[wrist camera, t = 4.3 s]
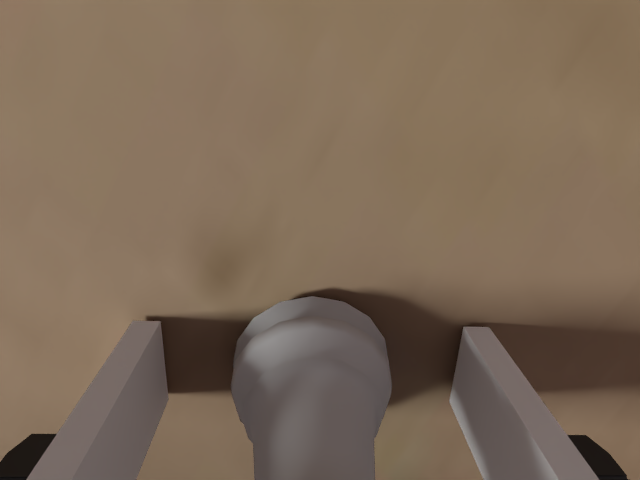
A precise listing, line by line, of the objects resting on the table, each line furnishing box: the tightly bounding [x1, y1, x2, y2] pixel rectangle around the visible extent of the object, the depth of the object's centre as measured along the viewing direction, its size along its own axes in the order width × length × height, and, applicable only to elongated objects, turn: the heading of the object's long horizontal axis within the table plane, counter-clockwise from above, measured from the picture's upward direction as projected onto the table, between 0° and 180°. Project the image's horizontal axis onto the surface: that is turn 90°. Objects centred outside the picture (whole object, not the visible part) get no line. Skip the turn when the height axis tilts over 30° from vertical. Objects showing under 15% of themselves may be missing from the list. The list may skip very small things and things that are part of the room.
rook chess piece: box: [231, 296, 392, 480], centre depth 9 cm, size 4×4×8 cm
